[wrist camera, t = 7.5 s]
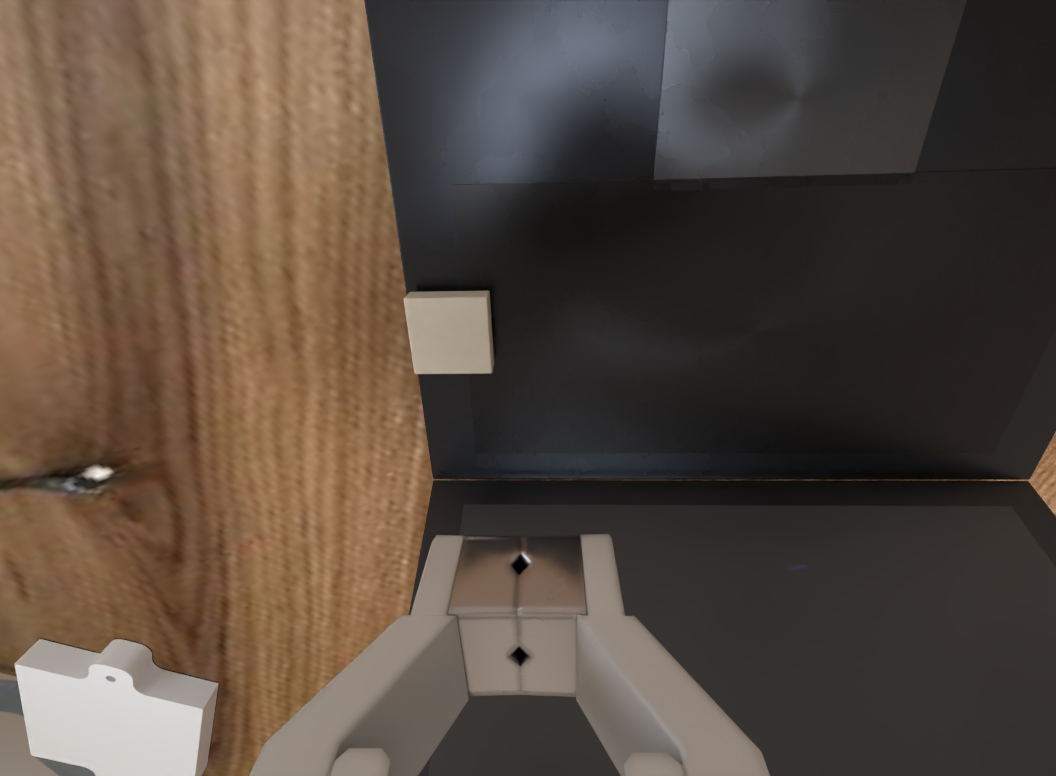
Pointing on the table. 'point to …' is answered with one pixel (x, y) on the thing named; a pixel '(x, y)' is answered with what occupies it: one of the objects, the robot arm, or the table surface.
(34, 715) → the mounting plate
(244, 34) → the table surface
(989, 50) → the laptop
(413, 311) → the off-white flat block
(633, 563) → the laptop screen
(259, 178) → the table surface
